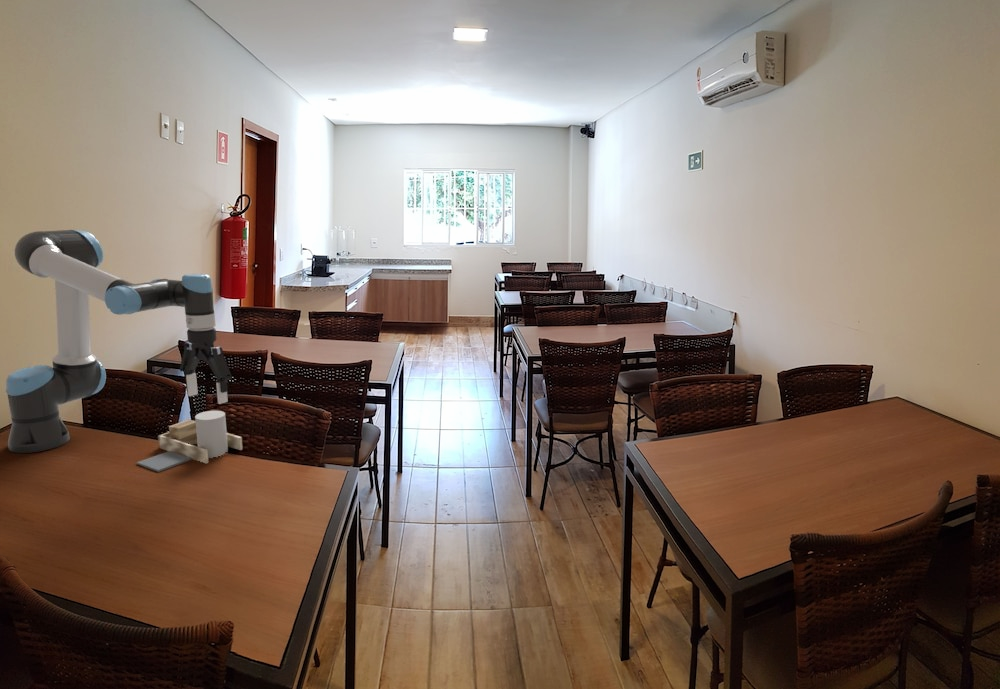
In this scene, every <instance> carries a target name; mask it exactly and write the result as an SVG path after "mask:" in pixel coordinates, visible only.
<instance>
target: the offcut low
mask: <svg viewBox="0 0 1000 689" xmlns="http://www.w3.org/2000/svg"><path fill="white" fill-rule="evenodd" d="M169 438H171V437H169ZM172 439H175V440H178V441H181V442H184V443H187V444H188V443H189V444H191V445H195V444H197V433H195V434H192V435H189V436H187V437H184V438H182V439H176V438H172Z"/></svg>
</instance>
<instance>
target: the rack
mask: <svg viewBox="0 0 1000 689" xmlns="http://www.w3.org/2000/svg"><path fill="white" fill-rule="evenodd" d="M169 437H170V432H169V431H168V432H165V433H162V434H159V435H157V441H158V448H159V449H162V450H164V451H166V452H168V451H172V452H175V453H178V454H181V455H184V456H187V457H190V458H191V460H194V461H197V462H199V461H200V463H202V462H203V464H209V458H208V451H207V450H206V449H203V448H200V447H198V445H197V446H196V445H195V444H192V445H191V444H187V443H184V442H181V441H178V440H175V439H172V438H169ZM227 444H228V448H232V449H236V450H239V451H242V450H243V437H242V436H239V435H235V434H232V433H229V432H227Z"/></svg>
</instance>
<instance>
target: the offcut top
mask: <svg viewBox="0 0 1000 689" xmlns="http://www.w3.org/2000/svg"><path fill="white" fill-rule="evenodd" d="M168 430H169V431H168V432H170V437H171V438H176V439H182V438H184V437H187V436H189V435H192V434H195V433H196V422H195V420H194V419H193V420H192V419H186V420H183V421H180V422H177V423H175V424H172V425H169V426H168Z"/></svg>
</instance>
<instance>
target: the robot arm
mask: <svg viewBox="0 0 1000 689" xmlns="http://www.w3.org/2000/svg"><path fill="white" fill-rule="evenodd" d="M14 257H15V260H16V262H17V263H18V265H19V266H20V268H22V269H24V270H25V271H26V272H28V273H30V274H31V275H34V276H36V277H38V278H44V279H45V278H50V279H53V280H54V286H55V287H54V290H55V291H54V292H55V307H56V308H55V309H56V310H55V311H56V330H57V331H56V333H57V337H56V338H57V354H56V355H55V356H53V358H52V366H49V365H46V364H42V365H41V364H40V365H34V366H28V367H24V368H21V369H18V370H15V371H13V372H12V373H10V374H9V375H8V376H7V378H6V380H5V386H6V389H5V392H6V394H7V399H8V406H9V411H10V417H11V427H10V432H9V435H8V439H7V447H8V450H9V451H10V452H12V453H17V454H27V453H28V454H30V453H37V452H42V451H49V450H51V449H55V448H58V447H60V446H64V445H65V444H67V443H68V442H69V441H70V432H69V430H68V427H67V426H66V425H65V423H64V422H63V419H62V418H61V417H60V410H59V406H61V405H63V404H66V403H70V402H74V401H77V400H81V399H85V398H88V397H91V396H92V395H95V394H97V393H99V392H100V391H101V390H102V389H103V388H104V387H105V384H106V380H107V373H106V369H105V368H103V367H104V365H103V364H102V363H101V362H100V361H99V360H98V359H97V356H96V355H95V354H93V353H92V350H91V348H92V346H91V345H92V344H91V321H90V320H91V317H90V313H91V312H90V296H91V297H93V298H96V299H98V300H100V301H102V302H104V303H105V306H106V308H107V309H109V310H110V311H109V312H110V313H112V314H114V315H117V316H118V315H119V316H120V315H132V314H135V313H139V312H141V313H142V312H146V311H152V310H156V309H161V308H167V307H181V308H184V314H185V323H186V328H187V330H186V335H187V342H184V344H183V346H184V347H183V348H184V350H183V354H182V357H181V361H180V362H181V363H180V366H179V371H180V372H183V374H184V375H185V382H186V388H187V396H188V397H193V396H196V395H198V394H199V392H198V383H197V382H198V381H197V379H198V378H197V373H196V369H197V366H198V365H199V363H200V361H204V363H206V364H207V365H208V366H209V367H210V369H211V371H212V373H213V375H214V376H215V378H216V379H217V381H215V383H216V398H217V404H219V405H221V404H225V403H228V401H229V400H228V399H229V398H228V383H227V382H228V381H230V380H232V379H233V376H232V373H231V371H230V368H229V365H228V363H227V361H226V358H225V356H224V352H223V347H222V346H216V347H215V345H214V342H216V341H217V329H216V328H215V327H216V325H217V324H216V316H215V310H214V309H215V306H214V292H213V291H214V288H213V284H212V278H211V277H210V275H209V274H207V273H189V274H188V273H187V274H184V275H182V277H181V280H177V279H168V278H162V279H161V278H156V279H153V280H151V281H150V282H143V283H140V282H139V283H133V282H130V281H128V280H125V279H122V278H120V277H119V276H116V275H113V274H111V273H108V272H106V271H104V270H102V269H100V268H97V267H99V266H100V265H101V263H102V262H103V261H104V260H103V259H104V251H103V248H102V245H101V243H100V241H99V240H98V239H97V238H96V237H95V236H94V234H92V233H91V232H88V231H85V230H80V229H79V230H78V229H77V230H76V229H65V230H63V229H61V230H39V231H38V230H37V231H33V232H28V233H26V234H24V235H23V236H22V237H21V238H20V239H18V241H17V243H16V244H15V248H14Z"/></svg>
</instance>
